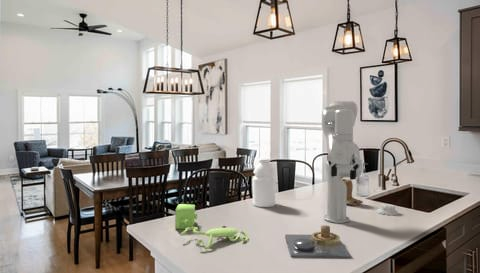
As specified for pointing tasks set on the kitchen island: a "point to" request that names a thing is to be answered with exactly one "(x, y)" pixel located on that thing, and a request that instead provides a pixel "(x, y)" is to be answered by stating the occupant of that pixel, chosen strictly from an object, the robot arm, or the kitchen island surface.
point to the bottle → (264, 184)
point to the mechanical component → (387, 209)
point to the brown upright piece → (350, 193)
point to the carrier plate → (315, 246)
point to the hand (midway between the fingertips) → (343, 177)
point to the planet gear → (325, 233)
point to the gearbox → (185, 216)
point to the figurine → (217, 234)
